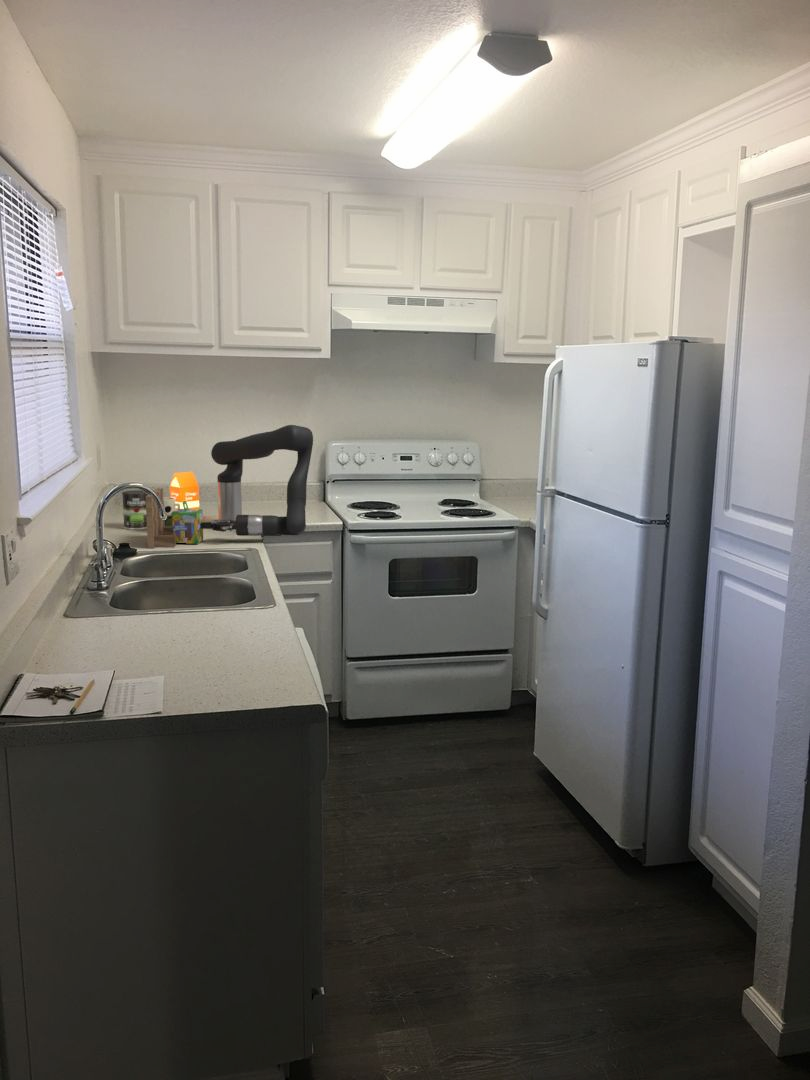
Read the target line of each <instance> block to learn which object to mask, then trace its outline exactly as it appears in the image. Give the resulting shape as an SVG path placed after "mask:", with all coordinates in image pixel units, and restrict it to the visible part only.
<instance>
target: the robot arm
mask: <svg viewBox="0 0 810 1080" xmlns="http://www.w3.org/2000/svg"><path fill="white" fill-rule="evenodd" d="M313 444H314V434H313V432H312V430H311V429H310V428H308V427H307V426H306V427H305V426H302V425H296V424H295V425H294V424H288V425H285V426H282V427H279V428H278V429H277V428H276V429H275V430H274V429H273V430H272V431H266V432H261V433H260V432H259V433H255V434H251V435H248V436H245V437H242V438H239V439H235V440H229V441H228V440H227V441H218V442H216V443H215V444H214V445H213V446H212V449H211V451H210V452H211V453H210V455H211V458H212V460H213V462H214V463H216V464H218V465H220V466H226V468H225V469H224V470H223V471H222V472H219V473H218V475H217V477H216V478H217V505H218V509H217V510H218V519H215V520H213V521H203V522H201V529H203V530H204V529H207V530H208V529H209V530H212V531H216V532H222V533H223V532H232V531H235V535H236V536H239V537H243V536H244V537H245V536H248V537H249V536H250V537H251V536H253V537H254V536H266V535H267V536H271V535H273V536H274V535H284V536H286V535H287V536H299V535H301V534H303V533H304V532H305V531H306V528H307V524H306V506H307V483H308V482H307V481H308V475H309V470H310V465H311V457H312V452H313V446H314V445H313ZM279 450H284V451H286V450H287V451H293V452H297V459H296V460H297V461H296V465H295V468H294V470H293V472H292V473H291V475H290V477H289V479H288V482H287V486H286V505H287V506H286V516H278V515H271V514H270V515H265V514H264V515H261V514H243V505H242V504H243V503H242V501H243V500H242V476H243V468H244V467H243V466H244V465H243V464H244V460H259V459H262V458H267V457H271V455H272V454H273V453H275V451H279Z"/></svg>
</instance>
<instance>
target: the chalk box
mask: <svg viewBox="0 0 810 1080" xmlns="http://www.w3.org/2000/svg"><path fill="white" fill-rule="evenodd" d="M182 503H183V507H184V509H177V510H175V511H173V512H172V513H171V515H172V531H173V535H176V543H186V544H185V545H198V544H200V543H201V542H203V541H204V540H203V539H204V529H201V522H204V521H203V520H204V518H203V517H204V515H203V509H202V508H201V509H200V508H199V509H189V508H188V505H187V502H186V501H184V502H182ZM185 504H186V508H185ZM202 540H203V541H202ZM199 542H200V543H199Z"/></svg>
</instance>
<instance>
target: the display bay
mask: <svg viewBox="0 0 810 1080" xmlns="http://www.w3.org/2000/svg"><path fill="white" fill-rule="evenodd" d="M152 492H154V493H155V494H156V495H157V496H158V497H159V498H160V500H161V502H162V504H163V507H164V488H163V487H161V488H160V487H159V488H156V489H154V490H153V491H152ZM146 517H147V529H146V532H147V533H146V534H147V535H146V536H147V537H146V538H147V540H146V541H147V549H155V548H154V547H175V546H177V544H176V535H173V531H172V526H170V527H165V520H162V519H161V518H160V514H159V510H158V507H157V504H156V502H155V500H154V499H153V498H152V497H151V496H150V495H147V496H146ZM175 548H176V547H175Z"/></svg>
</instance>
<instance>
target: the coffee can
mask: <svg viewBox="0 0 810 1080" xmlns="http://www.w3.org/2000/svg"><path fill="white" fill-rule="evenodd" d="M143 491H144V490H138V489H137V490H125V491H122V493H121V495H122V508H123V510H122V511H123V514H122V515H123V529H125V530H129V531H130V530H131V531H132V530H134V531H140V530H141V531H142V530H147V517H146V496H147V495H148V494H146V493H145V492H143Z"/></svg>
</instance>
